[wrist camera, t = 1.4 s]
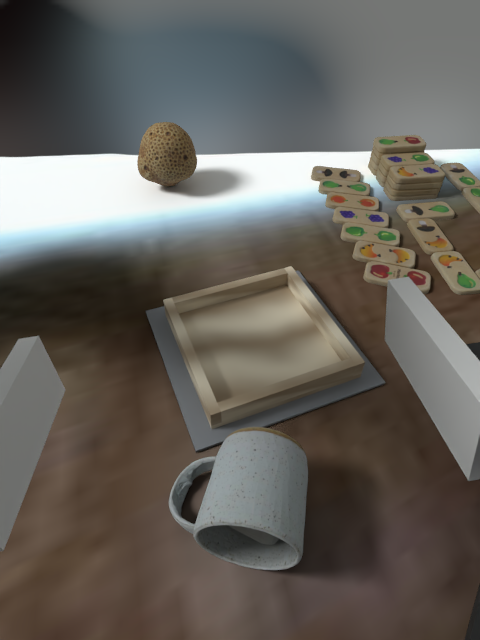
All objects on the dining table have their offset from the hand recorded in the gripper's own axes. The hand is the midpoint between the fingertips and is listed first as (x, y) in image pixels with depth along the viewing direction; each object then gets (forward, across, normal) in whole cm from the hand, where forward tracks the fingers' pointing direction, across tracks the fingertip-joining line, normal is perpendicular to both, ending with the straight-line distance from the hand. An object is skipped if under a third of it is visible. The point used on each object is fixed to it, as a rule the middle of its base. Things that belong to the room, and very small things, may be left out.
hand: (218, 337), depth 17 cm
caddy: (+24, +2, -19) cm, 31 cm away
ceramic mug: (+7, -2, -23) cm, 24 cm away
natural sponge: (+59, -8, -11) cm, 61 cm away
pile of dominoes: (+48, +29, -18) cm, 59 cm away
